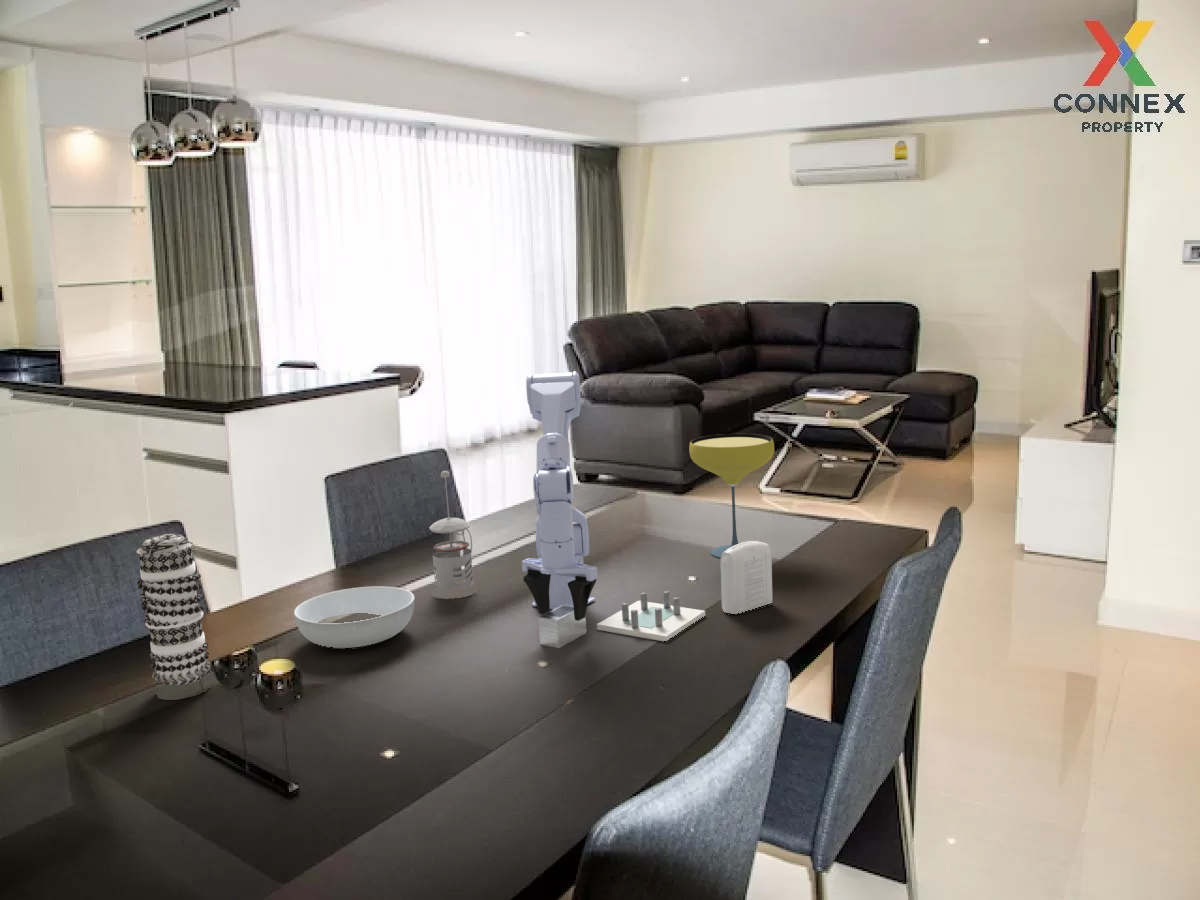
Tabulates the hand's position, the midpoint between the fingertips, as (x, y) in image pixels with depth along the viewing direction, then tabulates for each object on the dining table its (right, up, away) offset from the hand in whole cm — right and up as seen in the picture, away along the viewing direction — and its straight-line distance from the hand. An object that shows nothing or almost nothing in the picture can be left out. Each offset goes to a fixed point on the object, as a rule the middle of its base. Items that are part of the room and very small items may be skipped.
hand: (562, 615), depth 168 cm
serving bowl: (-36, -6, +6) cm, 37 cm away
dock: (+16, -2, +6) cm, 17 cm away
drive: (0, -4, +1) cm, 4 cm away
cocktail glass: (+36, +6, +47) cm, 59 cm away
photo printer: (+34, -1, +11) cm, 35 cm away
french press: (-22, 0, +31) cm, 39 cm away
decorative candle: (-60, -10, -12) cm, 62 cm away
